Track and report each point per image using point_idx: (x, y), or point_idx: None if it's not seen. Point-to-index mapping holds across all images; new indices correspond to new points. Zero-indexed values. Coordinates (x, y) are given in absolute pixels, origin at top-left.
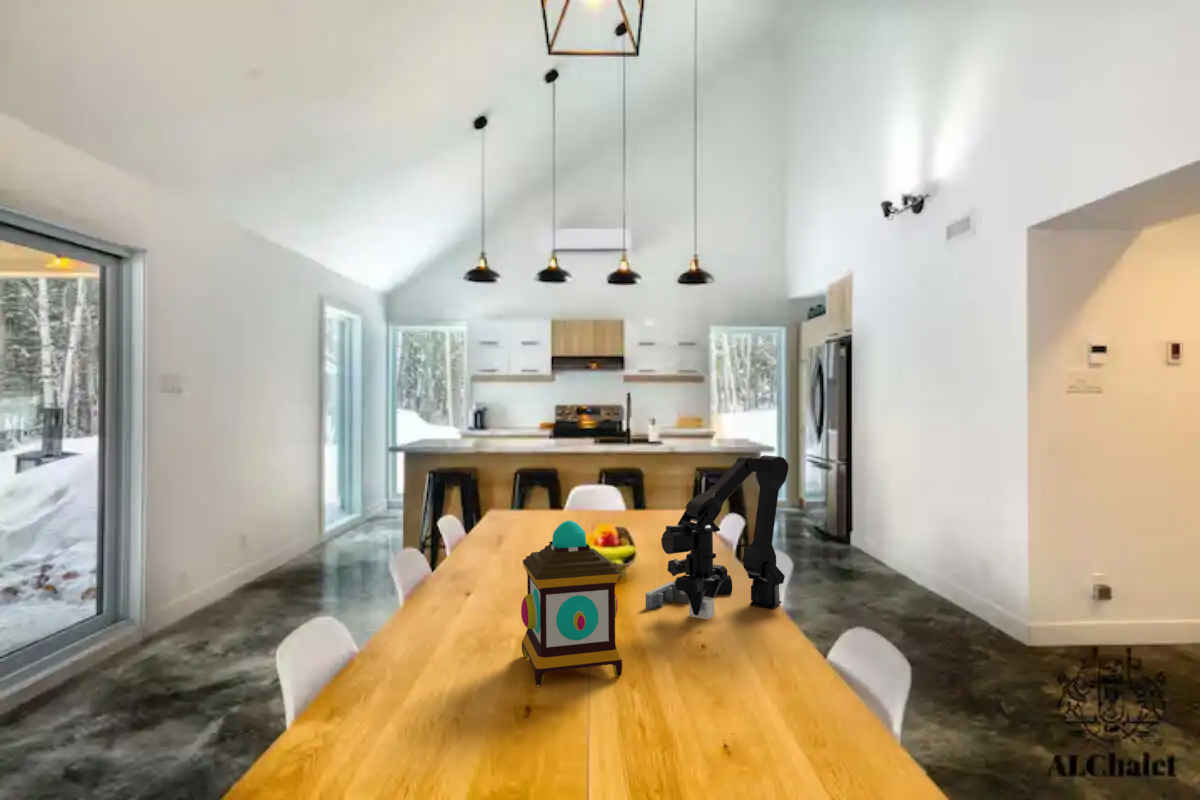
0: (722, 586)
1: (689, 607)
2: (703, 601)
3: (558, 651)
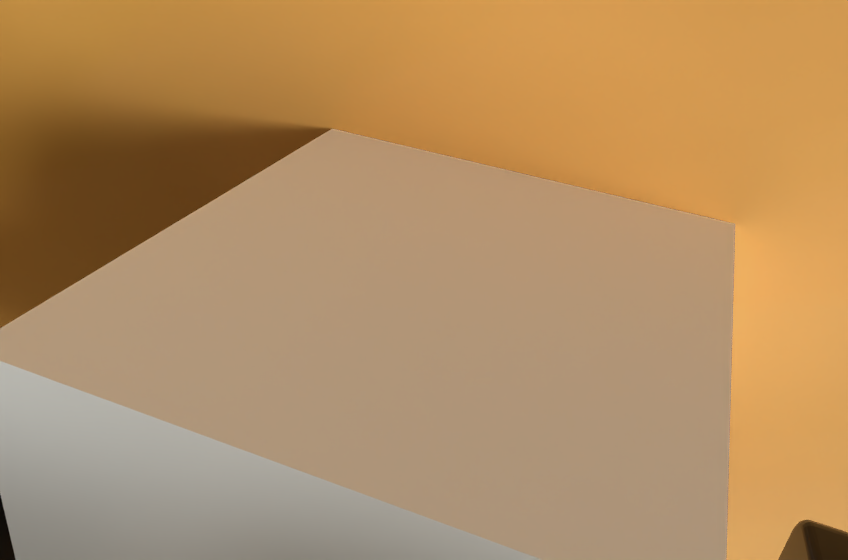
0: None
1: (205, 206)
2: None
3: None
